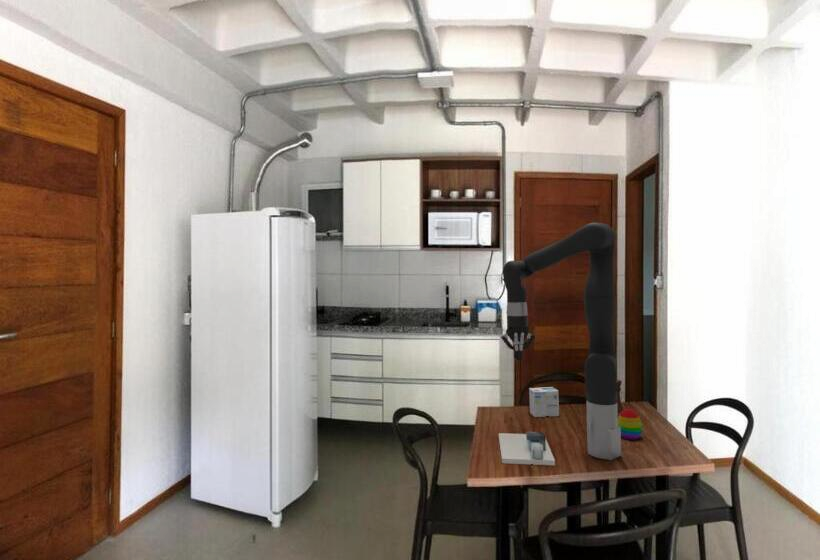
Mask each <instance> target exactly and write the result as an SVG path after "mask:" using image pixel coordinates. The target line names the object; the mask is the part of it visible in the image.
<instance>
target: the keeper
mask: <svg viewBox="0 0 820 560" xmlns="http://www.w3.org/2000/svg"><path fill="white" fill-rule="evenodd" d="M535 432H536V431H527V432H525V434H526V439H527V440H539V442H540V444H542V445H543V451H546V440H547V438H546V434H545V432H536V433H535Z"/></svg>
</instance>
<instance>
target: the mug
mask: <svg viewBox="0 0 820 560" xmlns="http://www.w3.org/2000/svg"><path fill="white" fill-rule="evenodd" d="M622 382H623V381H622V380H619V379H616V389H617V414H618V416H619V415H620V413H621V412H622V411H623V410H625V409H624V407H623V403H622V402H621V394H620V392H621V390H622V388H621V387H622Z"/></svg>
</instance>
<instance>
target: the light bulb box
mask: <svg viewBox="0 0 820 560" xmlns="http://www.w3.org/2000/svg"><path fill="white" fill-rule="evenodd" d="M528 391H529V392H528V393H529V394H528V395H529V413H530V414H531V415H532V416H533V418H547V417H546V416H549V417H559V416H560V404H559V403H560V401H559V399H560V398H559V390H558V389H557V388H555V387H554V386H547V387H529V388H528Z"/></svg>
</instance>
